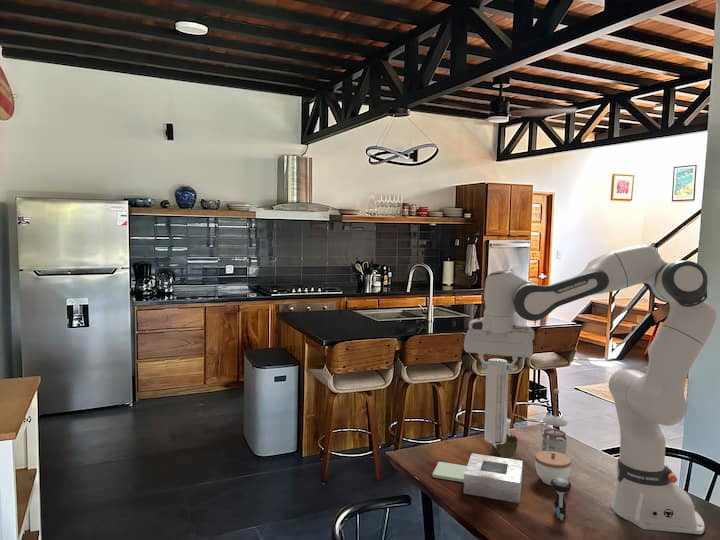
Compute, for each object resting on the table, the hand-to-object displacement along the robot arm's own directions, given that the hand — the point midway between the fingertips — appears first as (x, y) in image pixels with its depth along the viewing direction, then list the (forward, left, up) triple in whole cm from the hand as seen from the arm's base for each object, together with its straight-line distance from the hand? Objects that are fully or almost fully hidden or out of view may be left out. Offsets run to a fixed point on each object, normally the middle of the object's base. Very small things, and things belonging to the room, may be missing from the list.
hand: (497, 369), depth 160 cm
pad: (+14, -4, -37) cm, 40 cm away
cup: (-2, -21, -37) cm, 43 cm away
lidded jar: (-17, -10, -37) cm, 42 cm away
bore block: (0, 0, -37) cm, 37 cm away
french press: (-17, -28, -37) cm, 49 cm away
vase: (0, -33, -37) cm, 49 cm away
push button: (-19, +11, -37) cm, 43 cm away
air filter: (0, 0, -22) cm, 22 cm away
